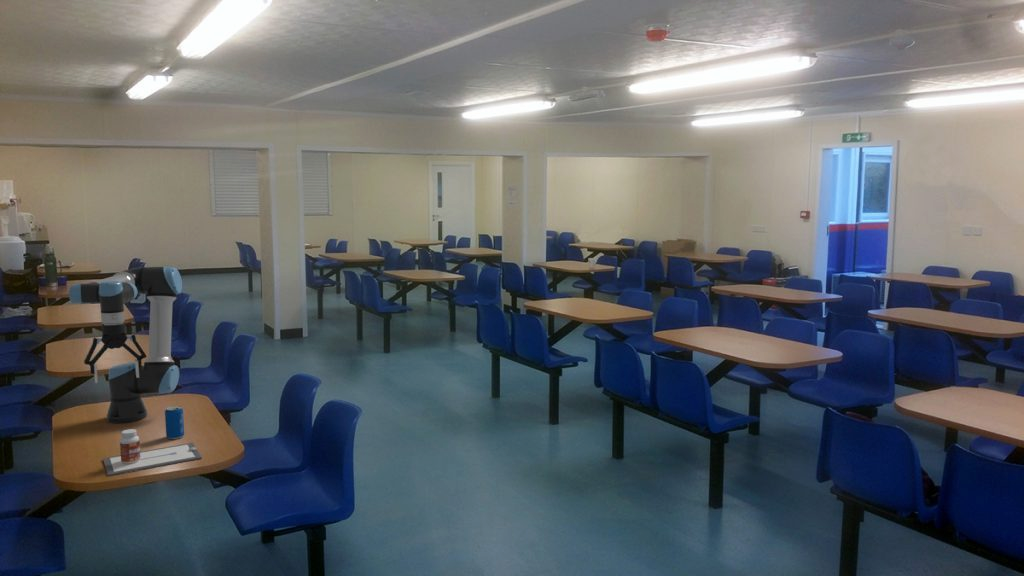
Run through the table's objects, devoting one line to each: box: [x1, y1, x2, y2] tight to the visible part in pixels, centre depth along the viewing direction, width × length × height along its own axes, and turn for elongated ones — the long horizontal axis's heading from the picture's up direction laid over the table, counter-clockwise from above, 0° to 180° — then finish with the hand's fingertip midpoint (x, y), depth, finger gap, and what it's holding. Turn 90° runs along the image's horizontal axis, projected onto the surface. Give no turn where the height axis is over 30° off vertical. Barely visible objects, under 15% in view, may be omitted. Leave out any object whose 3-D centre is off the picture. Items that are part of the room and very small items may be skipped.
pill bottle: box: [119, 428, 141, 464], centre depth 261 cm, size 6×6×11 cm
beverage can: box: [164, 405, 185, 440], centre depth 289 cm, size 6×6×12 cm
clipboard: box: [102, 442, 203, 477], centre depth 266 cm, size 18×30×1 cm, turn 124°
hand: (117, 379), depth 273 cm, fingers open, 13 cm apart
